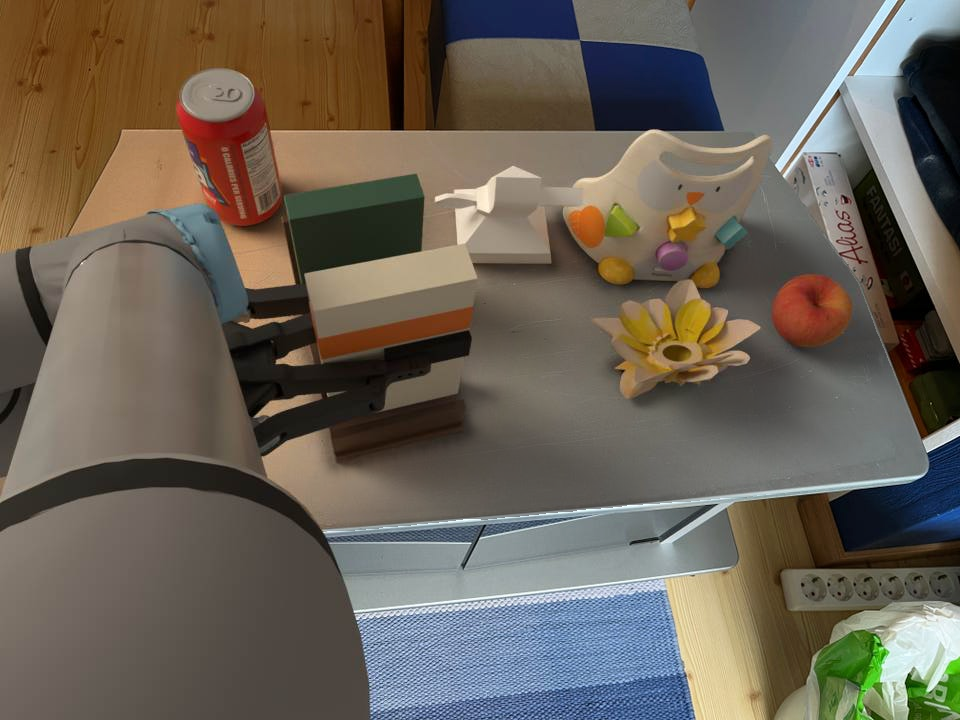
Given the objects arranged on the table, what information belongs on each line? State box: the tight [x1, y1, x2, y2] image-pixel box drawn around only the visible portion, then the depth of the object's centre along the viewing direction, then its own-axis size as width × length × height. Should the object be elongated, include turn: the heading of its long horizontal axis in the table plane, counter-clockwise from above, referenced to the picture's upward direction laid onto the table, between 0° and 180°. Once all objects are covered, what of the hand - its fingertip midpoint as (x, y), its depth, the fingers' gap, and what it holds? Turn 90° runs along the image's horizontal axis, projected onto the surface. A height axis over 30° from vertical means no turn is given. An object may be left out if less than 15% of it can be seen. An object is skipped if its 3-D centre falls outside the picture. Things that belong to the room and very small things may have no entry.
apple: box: [771, 273, 854, 348], centre depth 76 cm, size 7×7×8 cm
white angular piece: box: [434, 165, 583, 265], centre depth 75 cm, size 8×14×14 cm, turn 94°
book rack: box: [280, 214, 467, 463], centre depth 67 cm, size 18×12×13 cm, turn 17°
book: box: [304, 244, 479, 413], centre depth 57 cm, size 3×11×18 cm, turn 107°
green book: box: [283, 173, 426, 284], centre depth 67 cm, size 3×11×16 cm, turn 107°
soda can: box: [176, 67, 283, 227], centre depth 73 cm, size 8×8×15 cm
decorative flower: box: [590, 279, 761, 400], centre depth 72 cm, size 15×11×10 cm
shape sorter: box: [562, 129, 774, 289], centre depth 75 cm, size 20×10×18 cm, turn 92°
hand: (461, 322), depth 57 cm, fingers closed on book, 3 cm apart
